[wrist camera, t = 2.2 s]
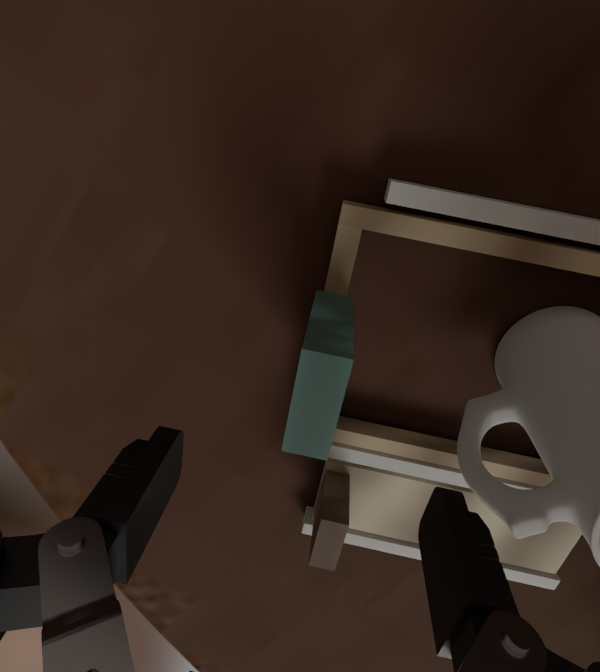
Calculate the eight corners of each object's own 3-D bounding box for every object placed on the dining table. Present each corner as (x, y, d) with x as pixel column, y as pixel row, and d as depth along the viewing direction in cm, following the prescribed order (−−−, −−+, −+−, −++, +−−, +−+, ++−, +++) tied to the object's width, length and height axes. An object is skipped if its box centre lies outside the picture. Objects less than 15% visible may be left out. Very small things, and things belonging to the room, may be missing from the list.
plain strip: (582, 504, 28) (629, 578, 23) (547, 558, 30) (583, 635, 25) (329, 449, 28) (323, 510, 24) (313, 506, 31) (306, 572, 26)
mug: (611, 283, 22) (859, 422, 11) (623, 389, 24) (838, 588, 14) (419, 338, 25) (469, 494, 14) (446, 429, 27) (508, 623, 16)
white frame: (720, 274, 21) (927, 351, 13) (588, 482, 27) (679, 616, 19) (335, 198, 22) (325, 229, 14) (290, 418, 28) (266, 523, 20)
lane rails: (753, 249, 21) (783, 258, 19) (544, 569, 31) (554, 590, 29) (388, 178, 21) (391, 181, 20) (304, 515, 31) (301, 533, 30)
